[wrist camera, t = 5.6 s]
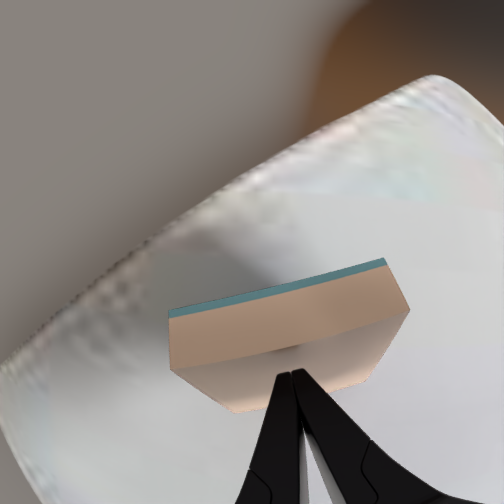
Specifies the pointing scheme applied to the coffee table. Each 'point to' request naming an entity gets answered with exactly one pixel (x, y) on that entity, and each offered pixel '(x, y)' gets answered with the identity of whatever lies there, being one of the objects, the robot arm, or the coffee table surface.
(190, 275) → the coffee table surface
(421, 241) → the coffee table surface
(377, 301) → the tile
